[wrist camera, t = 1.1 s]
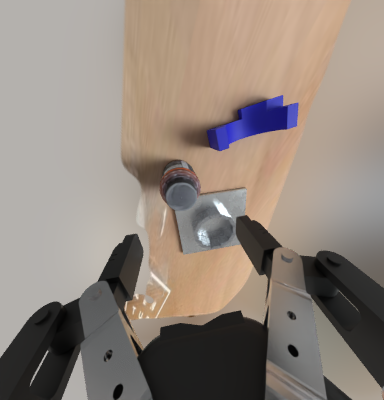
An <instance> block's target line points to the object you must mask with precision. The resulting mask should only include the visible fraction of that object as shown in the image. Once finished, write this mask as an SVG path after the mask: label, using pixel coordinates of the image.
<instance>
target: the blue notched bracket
mask: <svg viewBox="0 0 384 400" xmlns="http://www.w3.org/2000/svg"><path fill="white" fill-rule="evenodd" d="M238 116H239V120H237V121H234V122H231V123H228V124H225V125H222V126H218V127H215V128H212V129H209V130H207V134H208V139H209V144H210V148H213V149H215V150H218V151H222V150H225V149H228V148H229V144H230V143H232V142H234V141H237V140H239V139H242V138H245V137H248V136H252V135H256V134H260V133H264V132H269V131H275V130H284V129H290V128H293V127H296V126H297V117H298V103H294V104H290V105H286V106H283V95H282V96H279V97H275V98H272V99H269V100H266V101H263V102H260V103H257V104H254V105H251V106H248V107H245V108H242V109H240V110H238Z"/></svg>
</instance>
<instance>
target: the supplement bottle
mask: <svg viewBox="0 0 384 400" xmlns="http://www.w3.org/2000/svg"><path fill="white" fill-rule="evenodd" d="M200 190H201V186H200V182H199V180H198V177H197V176H196V174H195V172H194V171H193V169H192V167H191V166H190V165H189V164H188V163H187V162H185V161H182V160H174V161H172V162H170V163H169V164H168V165H167V166H166V167H165V169H164V172H163V175H162V179H161V183H160V194H161V196H162V198H163V200H164V201H165V202H166V203H167V204H168V205H169V206H170V207H171V208H172V209H174V210H177V211H186V210H188V209H190V208H191V207H193V206H194V204H195V203H196V201H197V199H198V197H199V195H200Z"/></svg>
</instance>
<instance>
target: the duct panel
mask: <svg viewBox="0 0 384 400" xmlns="http://www.w3.org/2000/svg"><path fill="white" fill-rule="evenodd" d="M246 192H247V189H246V188H238V189H232V190H225V191H219V192H212V193H206V194H200V195H199V197H198V199H197V201H196V203H195V204H194V206H193V207H191V208H190V209H188V210H186V211H177V210H175V213H176V218H177V223H178V229H179V234H180V239H181V244H182V249H183V254H190V253H195V252H201V251H206V250H212V249H218V248H223V247H229V246H234V245H240V242H239V241H238V239H237V236H236V217H238V216H244V215H245V206H246Z"/></svg>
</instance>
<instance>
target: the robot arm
mask: <svg viewBox="0 0 384 400" xmlns="http://www.w3.org/2000/svg"><path fill="white" fill-rule="evenodd" d="M236 236H237V239H238V241H239V242H240V244H241V245H242V247H243V249H244V250H245V252H246V254H247V255H248V257H249V259H250V260H251V262H252V264H253V265H254V267H255V269H256V270H257V272H258V274H259V275H264V274H266V276H267V278H268V280H267V289H266V298H265V308H264V315H263V322H262V324H261V323H259V322H257V321H256V320H253V319H250V318H247V317H243V315H242V313H241V311H236V312H231V313H226V314H222V315H220V316H218V317H216V318H215V319H213V320H211V321H210V322H208V323H206V324H204V325H192V324H184V323H179V324H174V325H169V326H165V327H161V329H160V335H159V336H157V337H156V338H155V339H154V340H152V341H151V342H150V343H149V344H148V345H147V346H146V347H145V348H143V346H142V344H141V342H140V341H139V339H138V337H137V335H136V333H135V331H134V329H133V327H132V324H131V322H130V320H129V318H128V315H127V313H126V311H125V309H124V305H125V302H126V301H130V300H132V299H133V295H134V291H135V287H136V282H137V278H138V275H139V270H140V266H141V262H142V258H143V247H142V245H141V242H140V240H139V237H138V235H137V234H132V235H126V236H125V238H124V240H123V242H122V243H119V244H118V245H117V247H115V249H114V250H113V252H112V254H111V256H110V258H109V260H108V262H107V264H106V266H105V268H104V270H103V272H102V274H101V276H100V278H99V280H98V282H96V283H94V284H93V285H91V286H90V287H89V288H87V289H86V290H85V291H84V293H83V294H82V295H81V297H80V298H78V299H76V300H74V301H72V302H70V303H68V304H66V305H64V306H63V305H61V303H59V302H52V303H49V304H47V305H45V306H43V307H42V308H40V309H39V310H38V311H37V312H35V313H34V314H33V315H32V316H31V317H30V318H29V320H28V321H27V322H26V324H25V325H24V326H23V328H22V329H21V331H20V332H19V333H18V334H17V336H16V337H15V339H14V340H13V341H12V343H11V344H10V345H9V347H8V348H7V350H6V351H5V352H4V354H3V355H2V356H1V358H0V400H61V399H62V396H63V394H64V391H65V389H66V386H67V383H68V381H69V378H70V376H71V373H72V371H73V368H74V365H75V362H76V360H77V358H78V355H79V352H80V350H81V355H82V362H83V369H84V376H85V383H86V390H87V397H88V400H352V399H351V398H349V397H348V396H347V395H346V394H345V393H344V392H342V391H341V390H340V389H339V388H338V387H336V386H335V385H334V384H333V383H332V382H331V381H329V380H328V379H327V378H326V377H325V376H324V375H323V370H322V364H321V357H320V352H319V344H318V337H317V331H316V324H315V318H314V311H313V305H312V299H313V300H314V301H315V302H316V304H317V305H318V306H319V308H320V309H321V310H322V312H323V313H324V314H325V316H326V317H327V318H328V319H329V321H330V322H331V323H332V325H333V326H334V327H335V328H336V330H337V331H338V332H339V334H340V335H341V336H342V337H343V339H344V340H345V341H346V343H347V344H348V345H349V347H350V348H351V349H352V350H353V352H354V353H355V354H356V356H357V357H358V358H359V359H360V361H361V362H362V363H363V364H364V366H365V367H366V368H367V370H368V371H369V372H370V374H371V375H372V376H373V377H374V378H375V380H376V381H377V383H378V384H379V385H380V387H381V388H382V396H383V400H384V288H383V287H381V286H380V285H379V284H377V283H376V282H375V281H374V280H372V279H371V278H370V277H369V276H367V275H366V274H365V273H363V272H362V271H361V270H360V269H358V268H357V267H356V266H354V265H353V264H352V263H351V262H349V261H348V260H347V259H345V258H344V257H342V256H341V255H339V254H336V253H334V252H330V251H319V252H318V253H317V255H316V257H311V256H300V255H298V254H297V253H296V252H295V251H293V250H291V249H288V248H284V247H282V246H281V245H280V244H279V243H278V242H277V241H276V240H275V238H274V237H273V236H272V235H271V234H270V233H268V231H267V230H266V229H265V228H264V227H263V226H262V225H261V224H260V223H258V222H257V221H255V220H252V221H251V219H250V218H249V217H248V216H247V215H244V216H238V217H236ZM339 291H340V292H342V294H343V295H344V296H345V297H346V298H347V299H348V300H349V301H350V302H351V303H352V304H353V305H354V306H355V307H356V308H357V309H358V311H359V312H360V313H359V312H358V311H357V310H356V308H355V307H353V305H352V304H350V302H349V301H348V300H347V299H346V298H345V297H344V296H343V295H342V294H341V293H340V292H339ZM311 298H312V299H311ZM47 350H48V351H49V352H48V354H47V356H46V357H45V359H44V361H43V363H42V365H41V367H40V369H39V371H38V372H37V374H36V376H35V378H34V380H33V382H32V384H31V386H30V383H31V380H32V378H33V375H34V374H35V372H36V370H37V368H38V366H39V364H40V363H41V361H42V359H43V357H44V355H45V353H46V351H47Z"/></svg>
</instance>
